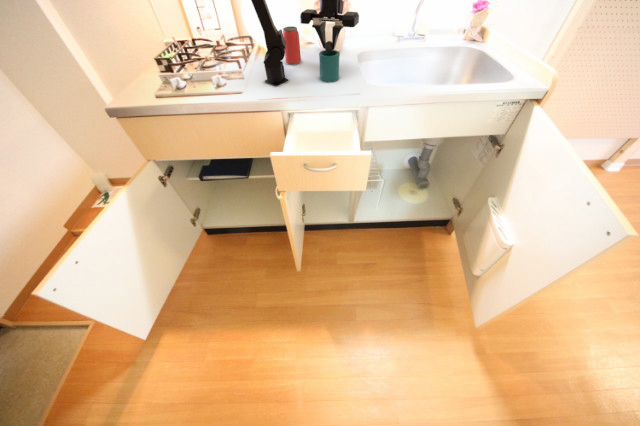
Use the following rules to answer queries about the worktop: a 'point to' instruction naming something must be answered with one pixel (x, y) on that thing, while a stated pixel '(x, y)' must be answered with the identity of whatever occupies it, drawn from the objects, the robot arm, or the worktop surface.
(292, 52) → the beer can
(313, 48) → the worktop surface
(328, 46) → the ball
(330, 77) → the jar
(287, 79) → the robot arm
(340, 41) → the cup
